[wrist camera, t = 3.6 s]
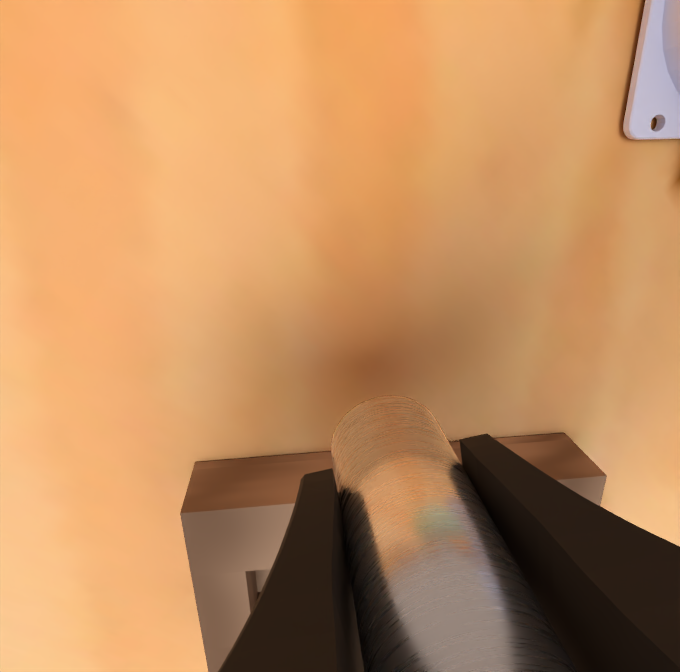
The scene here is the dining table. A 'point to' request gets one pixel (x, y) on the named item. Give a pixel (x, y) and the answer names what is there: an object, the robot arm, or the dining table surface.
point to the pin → (429, 554)
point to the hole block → (274, 515)
